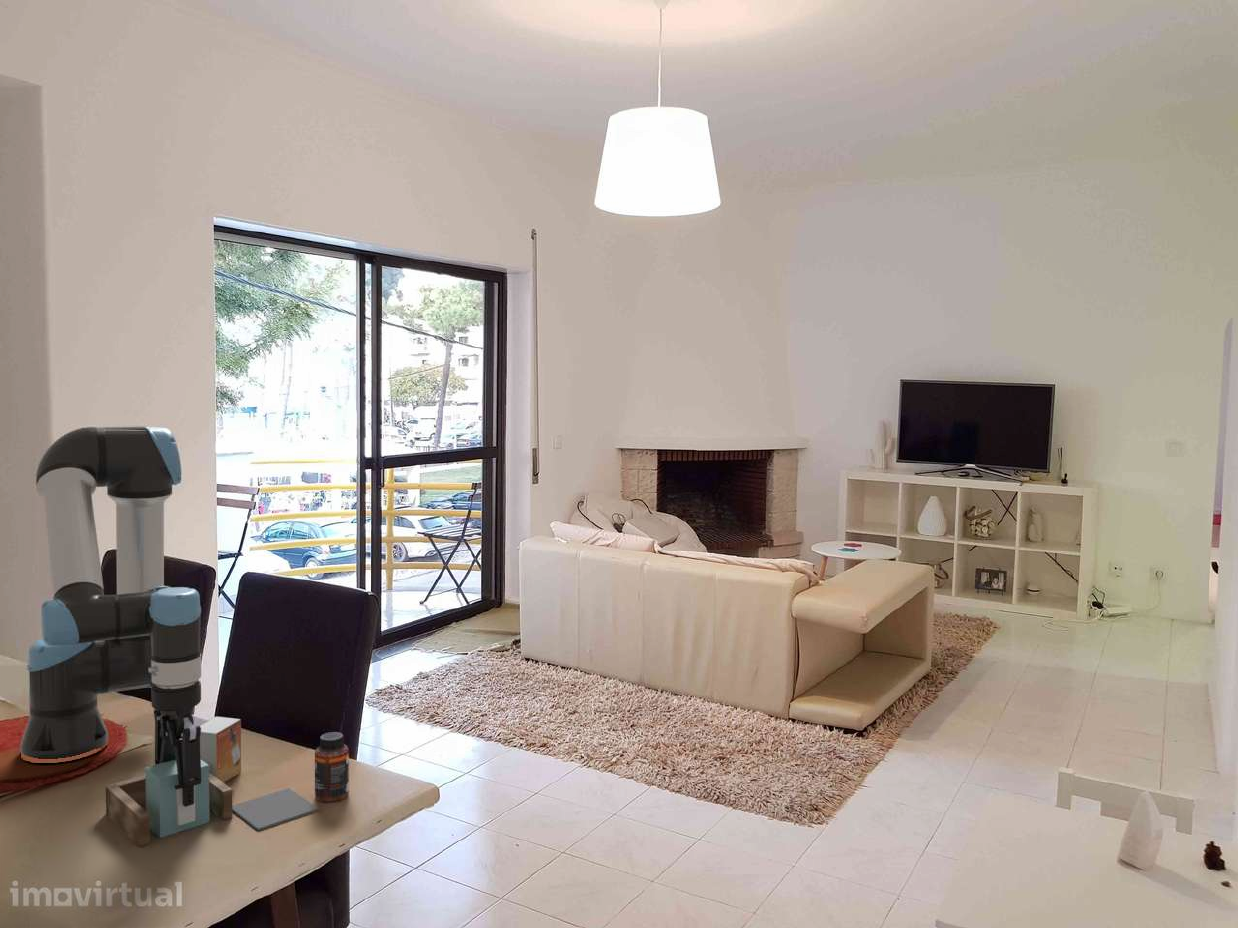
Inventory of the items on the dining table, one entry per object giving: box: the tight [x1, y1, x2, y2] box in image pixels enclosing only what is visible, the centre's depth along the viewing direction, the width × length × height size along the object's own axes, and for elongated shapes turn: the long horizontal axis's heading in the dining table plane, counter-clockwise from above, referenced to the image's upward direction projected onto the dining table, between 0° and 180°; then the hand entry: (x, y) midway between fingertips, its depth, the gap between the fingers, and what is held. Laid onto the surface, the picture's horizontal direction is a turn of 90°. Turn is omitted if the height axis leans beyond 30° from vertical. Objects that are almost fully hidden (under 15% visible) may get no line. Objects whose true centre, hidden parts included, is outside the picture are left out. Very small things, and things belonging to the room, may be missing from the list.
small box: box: [199, 716, 242, 784], centre depth 175 cm, size 8×6×10 cm
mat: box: [232, 787, 320, 831], centre depth 164 cm, size 11×11×1 cm
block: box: [144, 760, 210, 838], centre depth 157 cm, size 6×8×10 cm
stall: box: [105, 773, 233, 848], centre depth 160 cm, size 16×15×5 cm
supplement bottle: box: [314, 731, 350, 803], centre depth 169 cm, size 6×6×11 cm
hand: (178, 815), depth 158 cm, fingers closed on block, 6 cm apart
